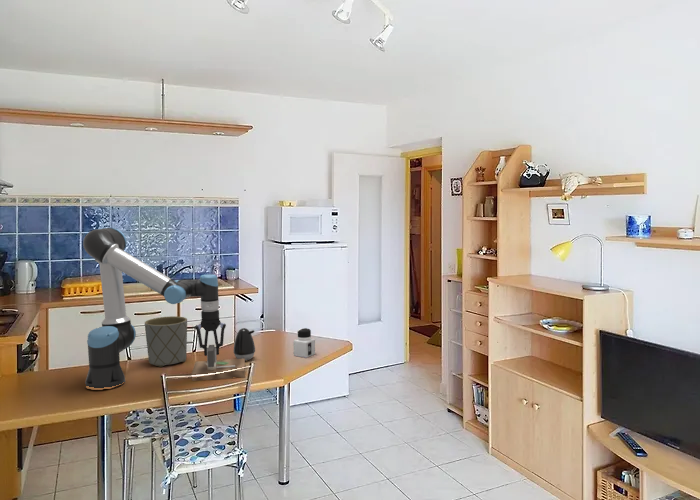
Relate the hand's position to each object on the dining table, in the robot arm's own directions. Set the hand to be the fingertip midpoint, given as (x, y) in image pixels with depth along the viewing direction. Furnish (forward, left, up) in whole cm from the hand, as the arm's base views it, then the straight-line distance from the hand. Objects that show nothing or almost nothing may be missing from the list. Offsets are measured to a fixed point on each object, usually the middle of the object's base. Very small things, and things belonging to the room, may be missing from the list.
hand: (211, 362), depth 236 cm
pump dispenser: (+14, +18, -5) cm, 24 cm away
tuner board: (+3, 0, -5) cm, 6 cm away
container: (+43, +19, -5) cm, 47 cm away
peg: (+4, -3, -2) cm, 6 cm away
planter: (-22, +22, -5) cm, 32 cm away
